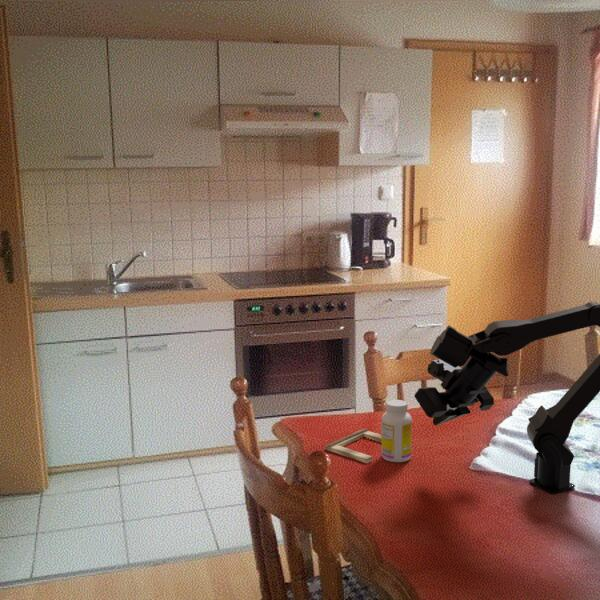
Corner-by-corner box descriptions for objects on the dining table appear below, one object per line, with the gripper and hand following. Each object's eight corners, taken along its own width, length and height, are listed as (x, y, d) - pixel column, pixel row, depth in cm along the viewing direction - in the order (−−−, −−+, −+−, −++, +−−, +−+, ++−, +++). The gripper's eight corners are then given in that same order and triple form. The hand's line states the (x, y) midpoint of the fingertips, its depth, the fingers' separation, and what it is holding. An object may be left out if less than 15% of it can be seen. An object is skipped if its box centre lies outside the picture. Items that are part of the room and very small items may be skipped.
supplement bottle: (410, 452, 164) (411, 398, 161) (412, 464, 157) (413, 408, 155) (381, 451, 164) (381, 397, 162) (381, 463, 158) (382, 407, 156)
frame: (403, 445, 168) (403, 440, 168) (366, 463, 158) (366, 457, 157) (362, 433, 176) (362, 428, 176) (325, 449, 166) (325, 444, 165)
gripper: (482, 345, 155) (445, 391, 164) (420, 348, 144) (384, 398, 153) (512, 384, 148) (472, 430, 157) (450, 391, 138) (410, 440, 147)
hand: (434, 423), depth 154 cm, fingers closed
